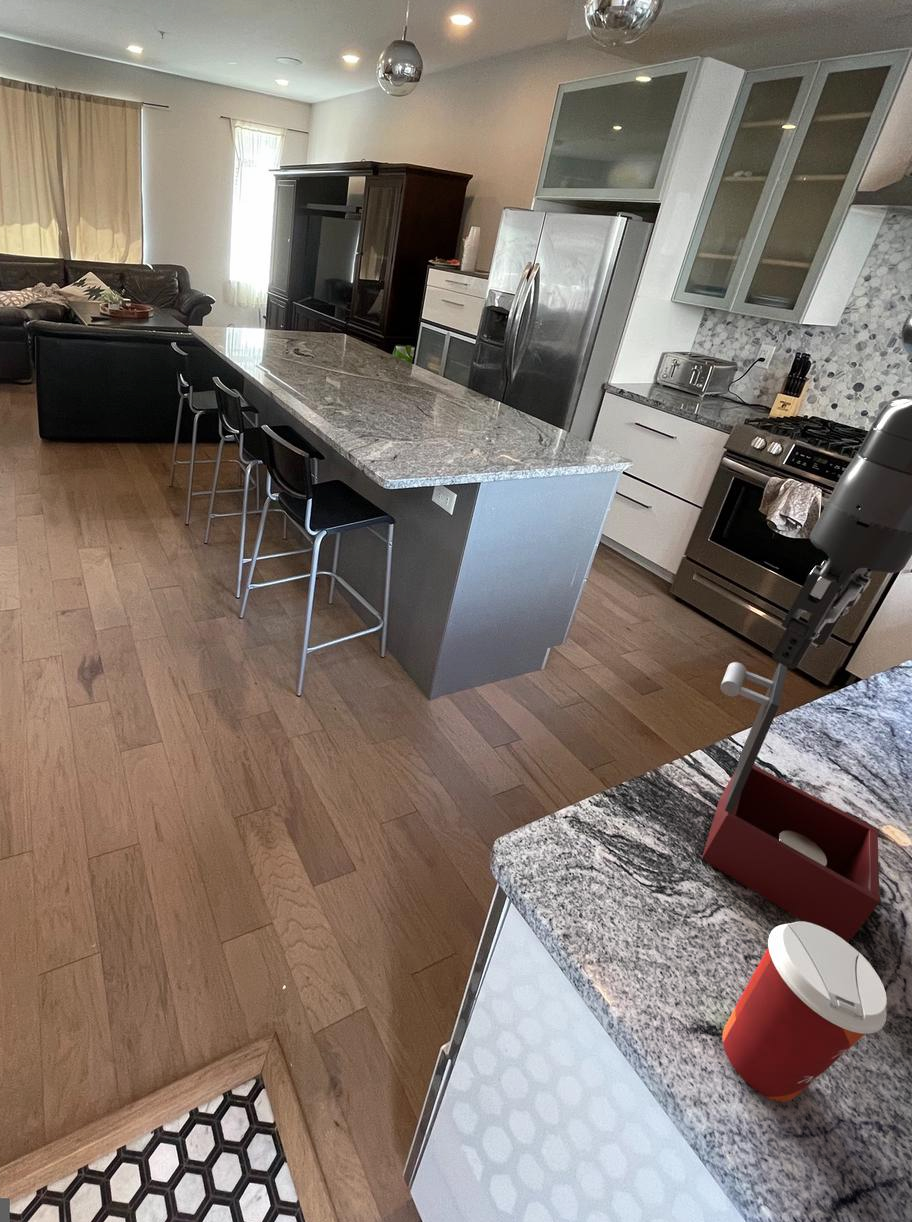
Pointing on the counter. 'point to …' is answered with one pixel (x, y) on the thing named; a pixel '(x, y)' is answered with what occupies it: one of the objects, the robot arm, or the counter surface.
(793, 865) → the box
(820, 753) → the counter surface
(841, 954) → the paper cup
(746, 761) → the lid
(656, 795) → the counter surface
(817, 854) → the cylinder
